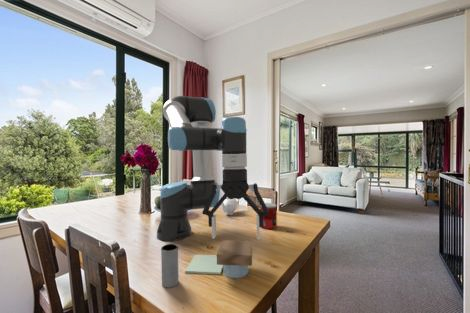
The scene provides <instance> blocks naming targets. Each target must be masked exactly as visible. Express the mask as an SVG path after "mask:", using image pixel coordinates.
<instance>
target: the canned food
mask: <svg viewBox="0 0 470 313" xmlns="http://www.w3.org/2000/svg"><path fill="white" fill-rule="evenodd" d="M264 203H265V202H264ZM259 205H260V204H259ZM265 205H266V206H267V208H268V210H269V214H268V215H265V216H263V227H260V228H261V229H264V230H274V229H277V225H278V224H277V222H278V220H277V217H278V216H277V212H278V211H277V204H276V203H275V204H274V203H270V202H269V203H267V202H266V203H265ZM259 209H260V210H261V211H263V209H262V207H261V205H260V206H259Z"/></svg>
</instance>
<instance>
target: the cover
mask: <svg viewBox="0 0 470 313" xmlns="http://www.w3.org/2000/svg"><path fill="white" fill-rule="evenodd" d="M216 252H217V253H216V255H217V265H240V266H248V267H252V264H253V241H251V240H248V241H246V240H221V243H220V245H219V248H218V251H216Z"/></svg>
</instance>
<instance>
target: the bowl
mask: <svg viewBox="0 0 470 313" xmlns="http://www.w3.org/2000/svg"><path fill="white" fill-rule="evenodd" d="M222 270H223V274H224V276H226V277H227V278H228V279H229V278H230V279H241V278H244V277H247V275H248V274H249V266H240V265H223V268H222Z"/></svg>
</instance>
